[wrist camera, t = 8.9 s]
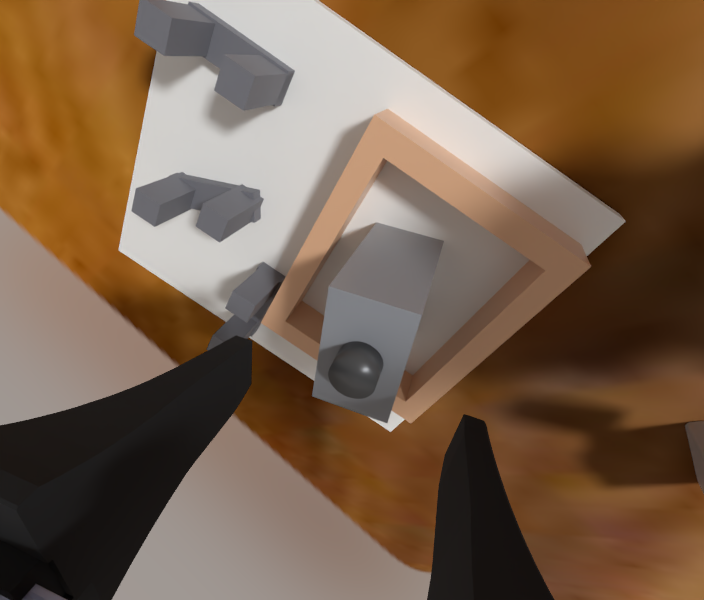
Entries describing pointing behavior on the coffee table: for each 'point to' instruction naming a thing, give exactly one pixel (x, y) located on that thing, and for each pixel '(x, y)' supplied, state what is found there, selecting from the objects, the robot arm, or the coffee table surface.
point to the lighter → (697, 448)
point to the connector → (374, 320)
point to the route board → (310, 167)
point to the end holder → (472, 200)
